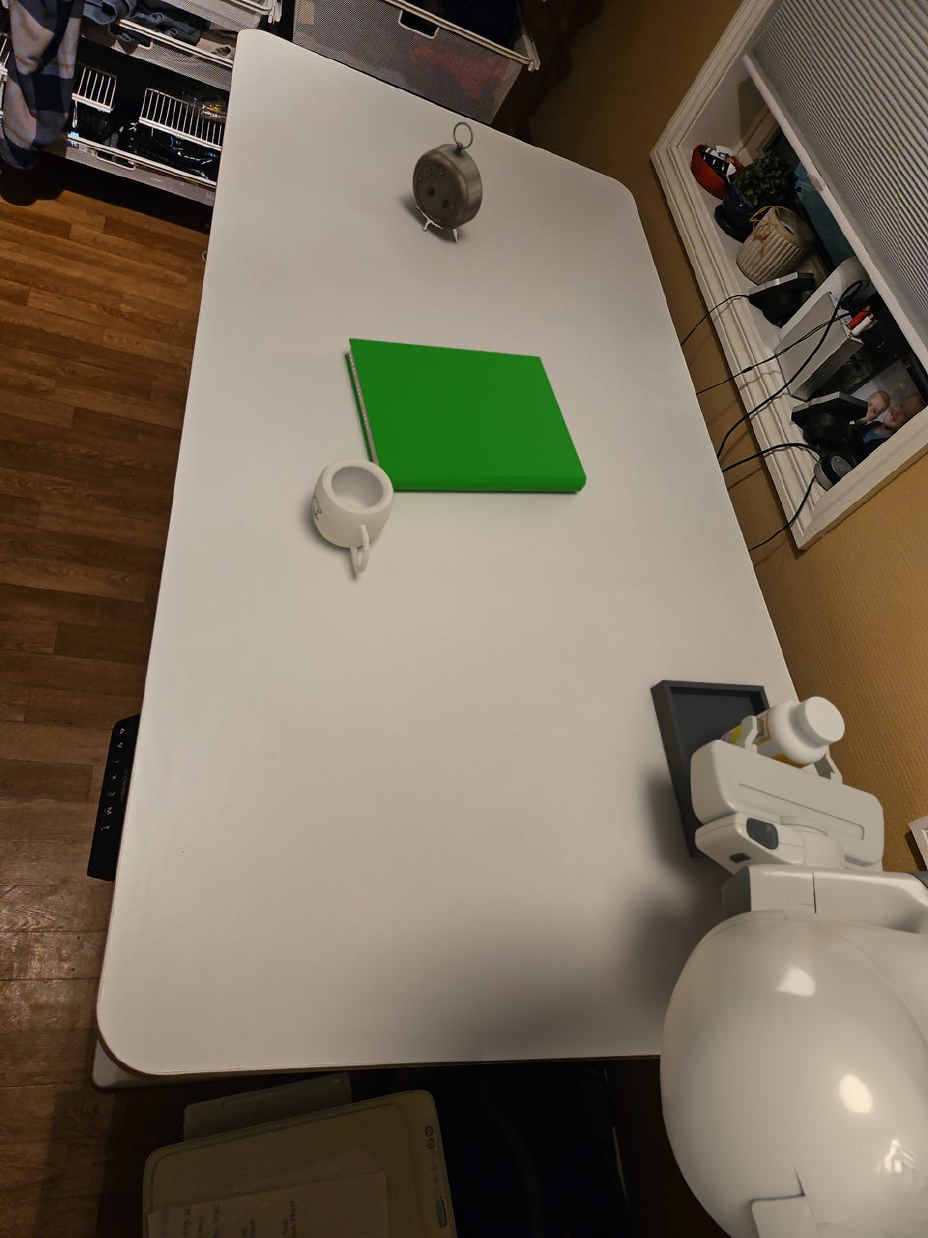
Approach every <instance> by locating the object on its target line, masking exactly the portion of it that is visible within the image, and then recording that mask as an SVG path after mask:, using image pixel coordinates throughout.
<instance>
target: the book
mask: <svg viewBox="0 0 928 1238" xmlns="http://www.w3.org/2000/svg"><path fill="white" fill-rule="evenodd" d="M348 342H349V346H350V348H349V352H350V353H349V352H348V353H345V355H344V358H345V362H346V366H347V371H348V374H349V379H350V383H351V387H352V392H353V396H354V401H355V404H356V408H357V413H358V417H359V422H360V426H361V431H362V434H363V439H364V443H365V447H366V451H367V456H368V461H370V462H372V463H374V464H375V465H377V466H378V467H380V468H381V469H382V470H383V471H384V472H385V473H386V475H387V476H388V477H389V479H390V481H391V484H392V487H393V491H394V490H395V491H396V490H398V491H399V490H401V491H412V490H413V491H481V492H482V491H483V492H484V491H485V492H486V491H487V492H488V491H489V492H495V491H496V492H566V493H567V492H568V493H569V492H571V493H572V492H576V493H580V492H581V491H582V490H583V489H584V487H585V486H586V484H587V478H588V477H587V475H586V472H585V469H584V467H583V465H582V462H581V459H580V457H579V454H578V451H577V449H576V447H575V444H574V441H573V439H572V437H571V433H570V430H569V428H568V426H567V423H566V420H565V418H564V415H563V412H562V410H561V408H560V405H559V403H558V400H557V397H556V395H555V392H554V390H553V387H552V383H551V382H550V379H549V377H548V374H547V371H546V369H545V366H544V363H543V362H542V359H541V356H537V355H528V354H517V353H506V352H498V351H497V352H495V351H488V350H487V351H485V350H477V349H466V348H465V349H464V348H457V347H456V348H455V347H445V346H435V345H425V344H414V343H404V342H395V341H384V340H373V339H364V338H353V337H349V339H348ZM350 354H351V357H350ZM351 359H352V361H351ZM352 363H353V365H352ZM353 368H354V370H353ZM354 372H355V374H354ZM357 385H358V386H357ZM358 389H359V391H358ZM359 393H360V395H359ZM360 398H361V399H360ZM361 402H362V403H361ZM363 411H364V412H363ZM364 414H365V416H364ZM365 418H366V420H365ZM366 423H367V424H366ZM367 427H368V428H367Z"/></svg>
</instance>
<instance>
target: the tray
mask: <svg viewBox="0 0 928 1238" xmlns="http://www.w3.org/2000/svg"><path fill="white" fill-rule="evenodd" d="M650 691H651V696H652V700H653V705H654V708H655V713H656V717H657V722H658V726H659V730H660V735H661V739H662V743H663V748H664V752H665V757H666V761H667V765H668V770H669V774H670V778H671V783H672V786H673V791H674V795H675V799H676V805H677V808H678V812H679V817H680V823H681V825H682V830H683V834H684V839H685V844H686V847H687V851H688V856H689V859H690V860H692V859H693V860H694V859H712V858H711V857H709V856H708V855H706V854H705V853H703V852H702V851H701V850H700V849H699V848H698V847H697V846H696V842H695V834H696V830H697V829H699V828H700V827H702V826H704V824H702V823H701V822H700V820H699V819H698V818H697V816H696V814H695V811H694V808H693V803H692V794H691V759H692V756H693V754H694V753H695V752H696V751H697V750H698V749H699V748H701V747H702V746H704V745H706V744H708V743H710V742H712V741H714V740H721V738H722V737H723V736H724V735H725V734H726V733H727V732H729V731H730V730H732V729H734V728H736V727H737V726H739V725H741V723H742V720H743V719H744V718H746V717H748V716H750V715H752V716H754V717H755V716H757V715H759V714H761V713H763V712H765V711H766V710H768V709H770V708H771V707H770V702H769V700H768V697H767V693H766V690H765V687H764V685H759V684H743V683H742V684H741V683H726V682H725V683H723V682H707V681H693V680H692V681H690V680H676V679H675V680H674V679H673V680H672V679H661V680H660V681H659V682H657V683H656V684H655V685H653V686H652V687H650Z"/></svg>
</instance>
